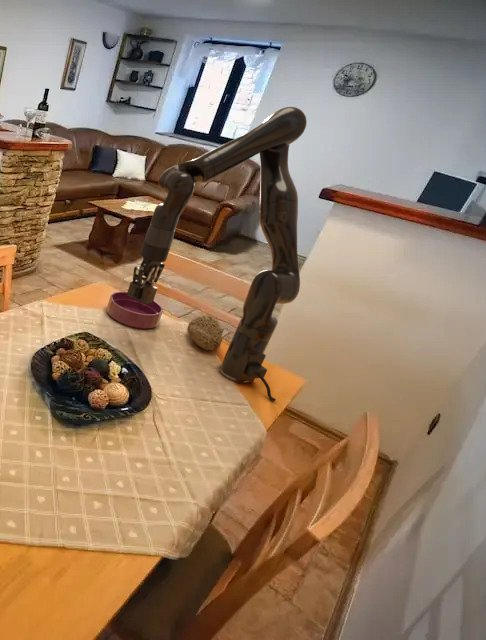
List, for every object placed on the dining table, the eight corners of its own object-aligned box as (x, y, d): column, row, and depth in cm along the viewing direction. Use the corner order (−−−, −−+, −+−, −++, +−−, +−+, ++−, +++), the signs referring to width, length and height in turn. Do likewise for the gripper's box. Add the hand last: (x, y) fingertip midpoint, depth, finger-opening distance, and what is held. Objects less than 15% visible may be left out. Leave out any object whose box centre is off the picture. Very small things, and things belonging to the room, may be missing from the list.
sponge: (191, 328, 178) (174, 332, 162) (204, 310, 175) (188, 312, 159) (224, 350, 173) (209, 356, 156) (237, 331, 170) (224, 336, 153)
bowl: (168, 329, 170) (173, 315, 168) (122, 329, 163) (127, 314, 161) (139, 305, 185) (144, 292, 182) (97, 305, 178) (101, 291, 176)
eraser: (153, 301, 149) (157, 288, 147) (146, 304, 147) (150, 290, 145) (133, 292, 153) (137, 279, 151) (126, 294, 151) (130, 280, 149)
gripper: (158, 236, 149) (142, 288, 157) (133, 240, 139) (116, 296, 147) (181, 244, 145) (162, 298, 153) (156, 249, 135) (138, 306, 143)
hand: (140, 296), depth 150 cm, fingers closed on eraser, 4 cm apart
